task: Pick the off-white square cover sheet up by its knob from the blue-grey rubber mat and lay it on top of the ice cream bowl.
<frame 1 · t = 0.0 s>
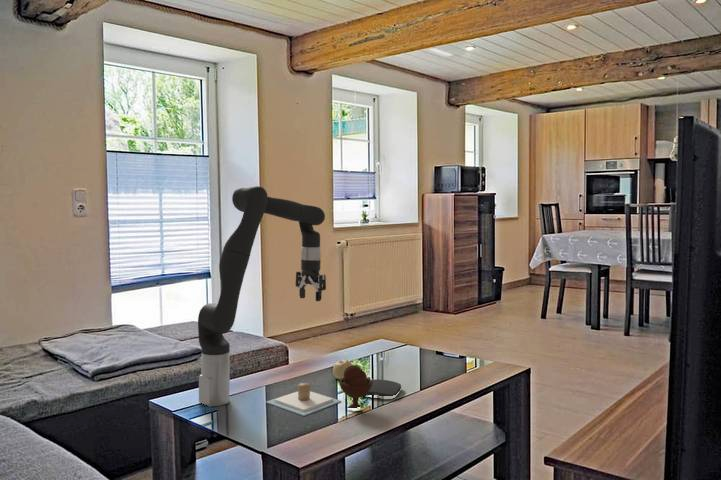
hand: (310, 299, 237), 29 cm above the table, fingers open, 8 cm apart
media streaming box: (378, 393, 219), on the table
rubber mat: (303, 402, 206), on the table
ice cream bowl: (355, 409, 201), on the table
cover sheet: (303, 401, 206), resting on rubber mat
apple: (342, 379, 234), on the table
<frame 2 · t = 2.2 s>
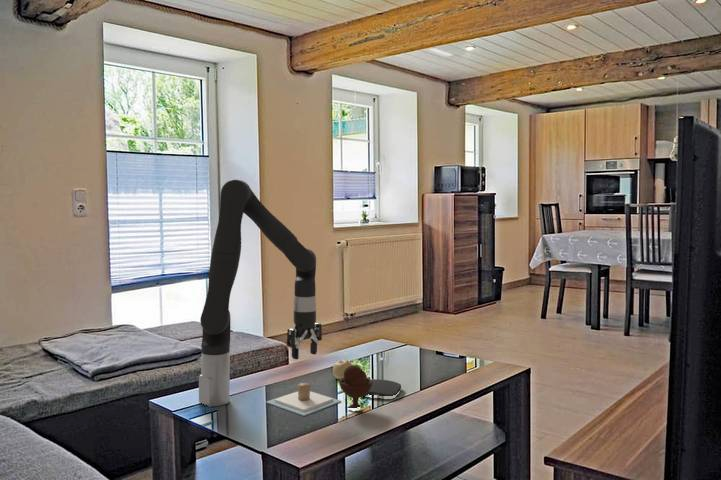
hand: (304, 356, 205), 16 cm above the table, fingers open, 8 cm apart
nothing on the table moved.
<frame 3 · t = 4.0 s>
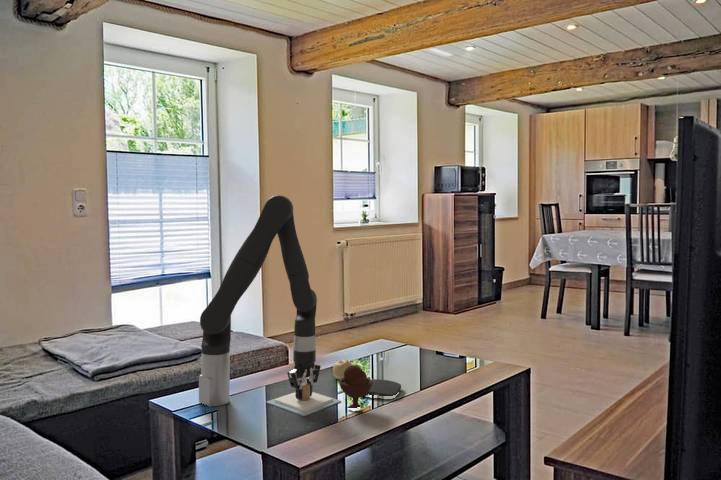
hand: (304, 397, 206), 2 cm above the table, fingers closed on cover sheet, 4 cm apart
cover sheet: (303, 401, 206), resting on rubber mat, touching gripper
everything else where it was.
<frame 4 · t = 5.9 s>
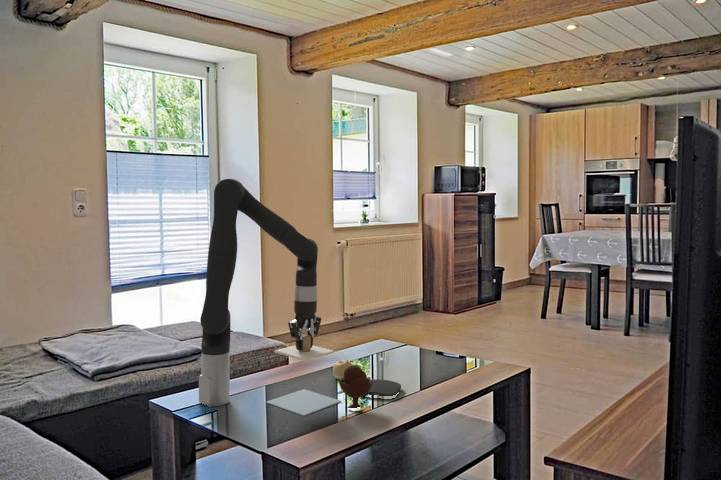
hand: (304, 348, 205), 19 cm above the table, fingers closed on cover sheet, 4 cm apart
cover sheet: (304, 352, 205), point 17 cm above the table, touching gripper
everything else where it was.
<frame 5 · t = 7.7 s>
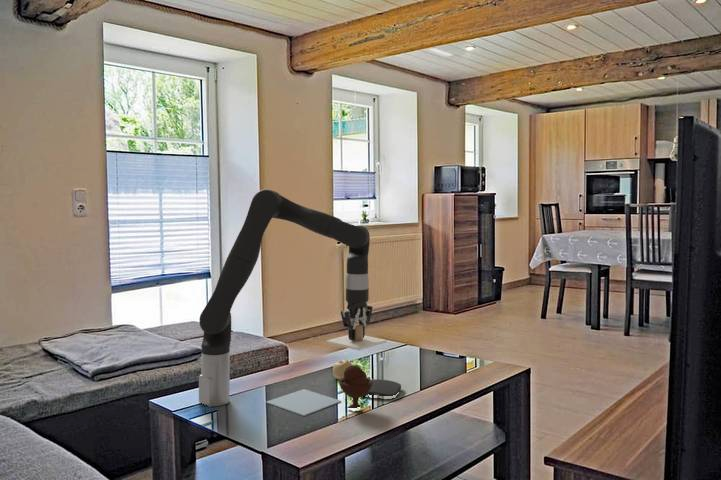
hand: (356, 338, 199), 24 cm above the table, fingers closed on cover sheet, 4 cm apart
cover sheet: (356, 342, 199), point 22 cm above the table, touching gripper
everything else where it was.
when the fingers open (18 cm above the table, at t = 9.4 s): cover sheet drops 2 cm, resting on ice cream bowl.
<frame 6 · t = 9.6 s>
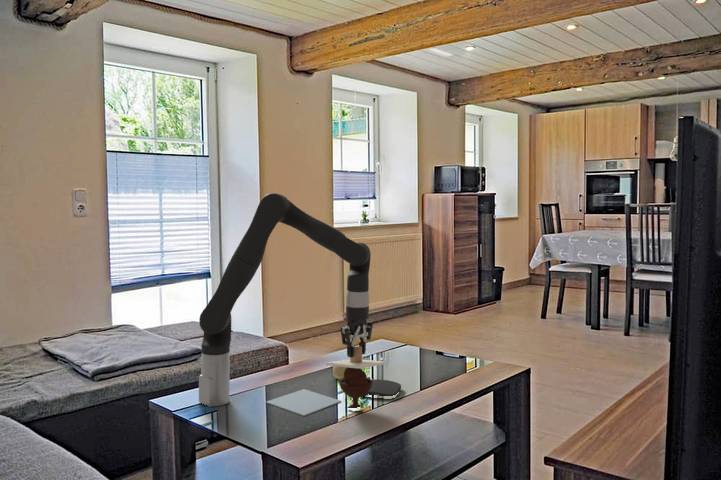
hand: (356, 355, 200), 18 cm above the table, fingers open, 5 cm apart
ice cream bowl: (355, 409, 201), on the table, touching cover sheet
cover sheet: (356, 364, 200), point 15 cm above the table, tilted 9°, touching gripper, ice cream bowl
everything else where it was.
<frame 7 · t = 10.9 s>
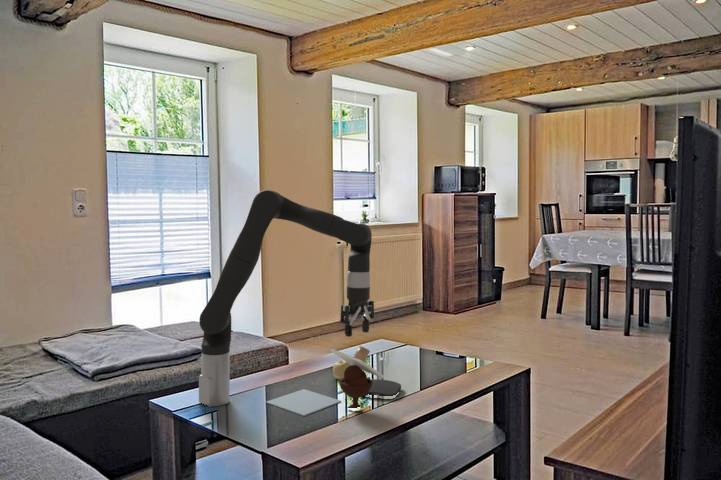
hand: (357, 334, 199), 25 cm above the table, fingers open, 8 cm apart
cover sheet: (356, 364, 200), point 15 cm above the table, tilted 34°, touching ice cream bowl
everything else where it was.
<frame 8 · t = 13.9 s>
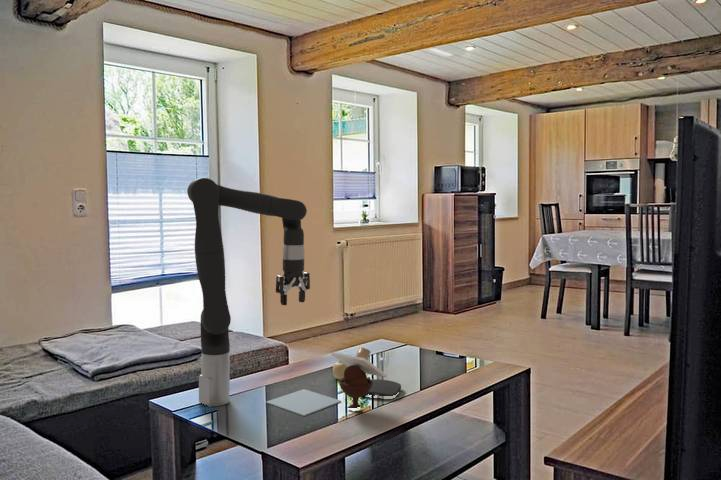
hand: (293, 303, 213), 32 cm above the table, fingers open, 8 cm apart
cover sheet: (358, 366, 201), point 14 cm above the table, tilted 35°, touching ice cream bowl
everything else where it was.
at the end: cover sheet 1.4 cm off-centre on the ice cream bowl, point 14.4 cm above the ice cream bowl's base; the gripper is holding nothing; ice cream bowl tilted 0° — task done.
